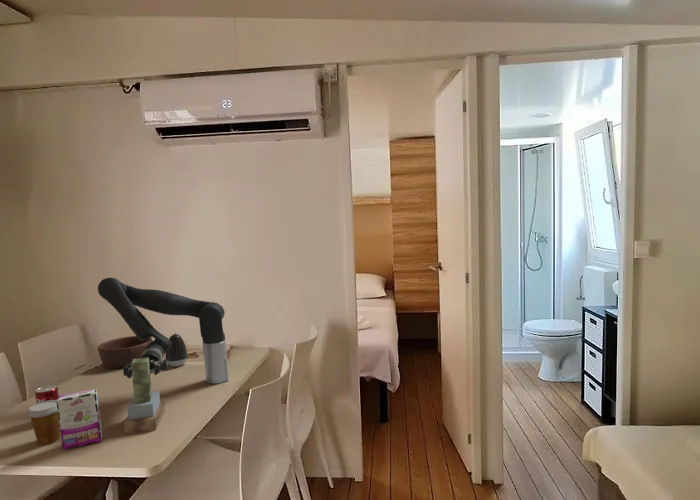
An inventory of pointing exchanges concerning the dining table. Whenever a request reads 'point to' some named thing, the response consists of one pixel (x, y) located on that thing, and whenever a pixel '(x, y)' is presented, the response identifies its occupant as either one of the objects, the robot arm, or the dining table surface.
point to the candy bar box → (79, 419)
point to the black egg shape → (176, 351)
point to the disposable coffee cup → (45, 422)
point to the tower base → (145, 422)
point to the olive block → (141, 380)
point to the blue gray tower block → (144, 407)
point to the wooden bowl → (122, 351)
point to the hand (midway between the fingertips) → (142, 373)
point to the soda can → (46, 394)
